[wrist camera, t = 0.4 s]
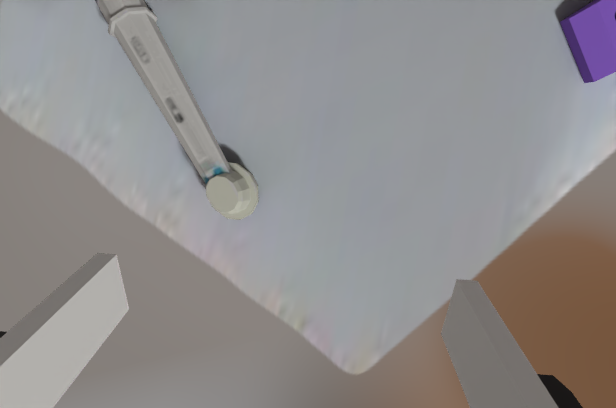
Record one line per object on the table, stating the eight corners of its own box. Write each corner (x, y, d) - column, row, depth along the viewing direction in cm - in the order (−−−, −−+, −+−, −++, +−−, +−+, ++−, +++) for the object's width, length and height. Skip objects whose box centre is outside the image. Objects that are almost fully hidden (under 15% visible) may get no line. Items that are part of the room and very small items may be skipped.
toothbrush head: (122, -38, 29) (258, 212, 32) (161, -3, 36) (271, 202, 38) (75, -6, 30) (211, 236, 32) (121, 23, 37) (232, 223, 39)
